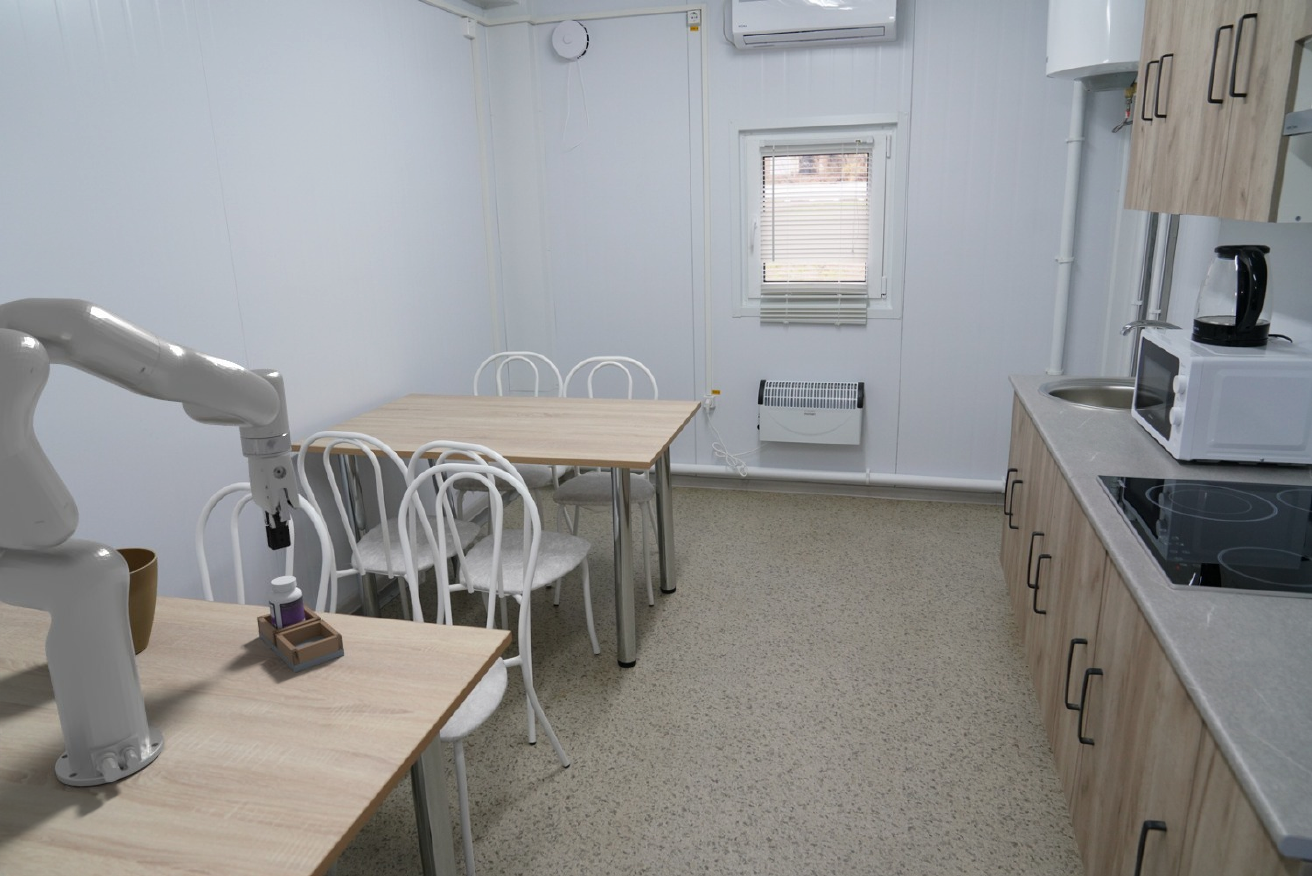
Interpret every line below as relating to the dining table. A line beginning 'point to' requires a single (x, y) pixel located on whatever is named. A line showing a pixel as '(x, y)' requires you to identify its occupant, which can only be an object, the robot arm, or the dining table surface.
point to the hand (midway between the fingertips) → (279, 546)
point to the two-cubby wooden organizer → (302, 641)
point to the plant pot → (141, 593)
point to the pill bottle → (285, 602)
